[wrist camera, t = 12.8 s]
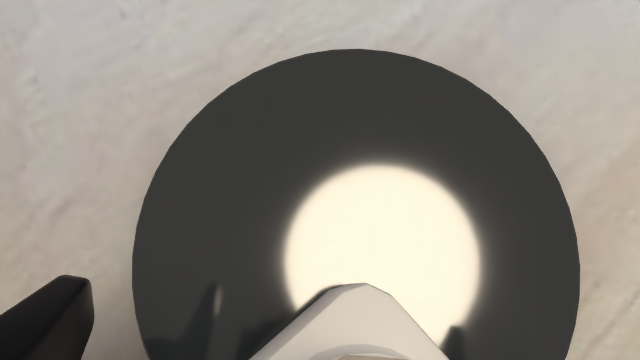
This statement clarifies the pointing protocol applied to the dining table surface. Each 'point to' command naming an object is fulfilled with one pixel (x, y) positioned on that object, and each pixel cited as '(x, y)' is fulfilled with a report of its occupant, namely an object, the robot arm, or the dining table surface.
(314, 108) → the coaster
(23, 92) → the dining table surface
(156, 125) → the dining table surface
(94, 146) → the dining table surface
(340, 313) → the pepper shaker
